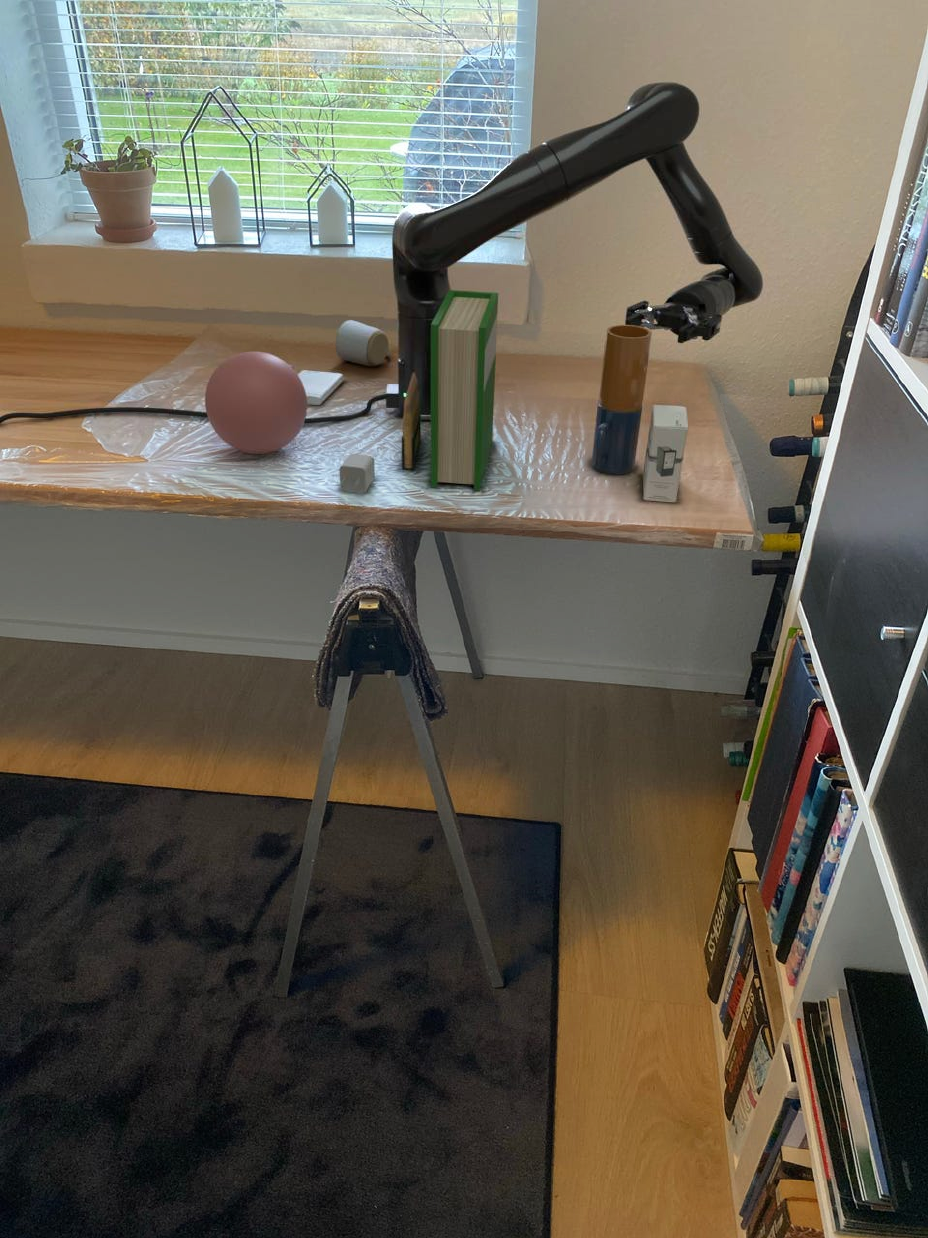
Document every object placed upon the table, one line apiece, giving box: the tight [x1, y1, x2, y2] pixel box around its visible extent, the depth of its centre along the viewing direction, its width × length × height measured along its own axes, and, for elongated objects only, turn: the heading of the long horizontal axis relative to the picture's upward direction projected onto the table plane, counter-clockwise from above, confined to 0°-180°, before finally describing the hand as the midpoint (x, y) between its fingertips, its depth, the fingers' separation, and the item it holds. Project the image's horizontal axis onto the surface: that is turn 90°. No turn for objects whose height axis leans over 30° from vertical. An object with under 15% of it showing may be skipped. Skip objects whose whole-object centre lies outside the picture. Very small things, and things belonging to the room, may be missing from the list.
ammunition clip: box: [401, 372, 422, 471], centre depth 144 cm, size 11×2×12 cm, turn 177°
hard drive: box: [297, 369, 344, 406], centre depth 170 cm, size 2×8×12 cm
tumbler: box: [598, 324, 653, 412], centre depth 138 cm, size 6×6×11 cm
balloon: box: [204, 351, 308, 455], centre depth 146 cm, size 15×20×15 cm
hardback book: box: [430, 289, 499, 492], centre depth 139 cm, size 18×7×24 cm, turn 173°
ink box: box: [642, 404, 689, 504], centre depth 136 cm, size 9×5×12 cm, turn 172°
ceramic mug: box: [335, 319, 391, 367], centre depth 183 cm, size 11×8×8 cm
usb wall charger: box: [338, 453, 376, 494], centre depth 137 cm, size 4×7×4 cm, turn 168°
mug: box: [591, 401, 643, 476], centre depth 142 cm, size 10×7×10 cm
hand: (654, 331), depth 142 cm, fingers open, 8 cm apart
